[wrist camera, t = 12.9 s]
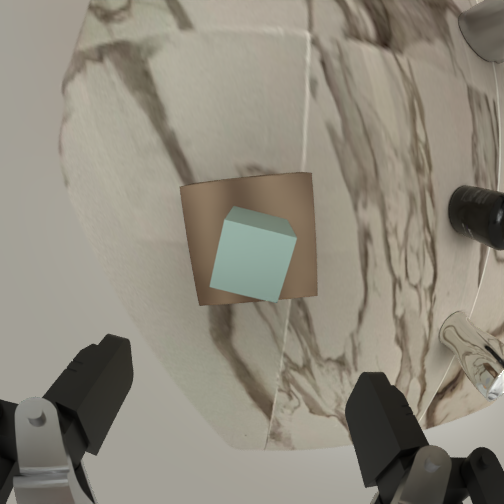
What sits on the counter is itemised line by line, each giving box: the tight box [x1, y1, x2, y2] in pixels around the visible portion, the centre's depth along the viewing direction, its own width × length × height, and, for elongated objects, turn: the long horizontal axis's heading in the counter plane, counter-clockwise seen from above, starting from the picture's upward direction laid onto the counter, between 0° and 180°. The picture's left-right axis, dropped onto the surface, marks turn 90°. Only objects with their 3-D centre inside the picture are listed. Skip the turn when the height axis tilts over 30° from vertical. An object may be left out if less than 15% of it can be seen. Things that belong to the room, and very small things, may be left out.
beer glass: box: [439, 312, 504, 402], centre depth 28 cm, size 7×7×15 cm
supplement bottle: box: [449, 186, 504, 251], centre depth 24 cm, size 7×7×12 cm
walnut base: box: [180, 172, 318, 306], centre depth 29 cm, size 12×12×6 cm
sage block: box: [210, 206, 297, 303], centre depth 23 cm, size 5×5×7 cm
